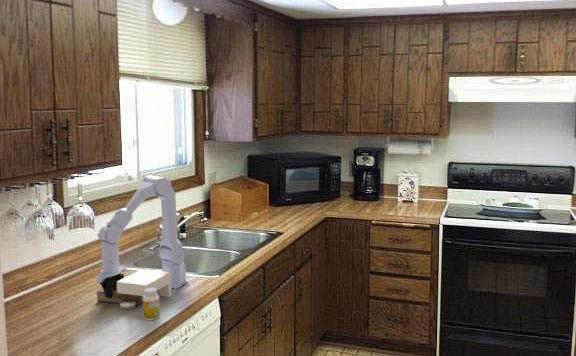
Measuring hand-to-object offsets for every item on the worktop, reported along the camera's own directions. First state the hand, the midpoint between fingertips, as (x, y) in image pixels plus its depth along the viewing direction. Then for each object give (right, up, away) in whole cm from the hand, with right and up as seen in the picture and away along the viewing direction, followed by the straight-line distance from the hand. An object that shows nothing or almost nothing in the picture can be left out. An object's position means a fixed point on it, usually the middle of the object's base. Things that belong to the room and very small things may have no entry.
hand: (112, 296), depth 208 cm
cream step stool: (+12, -2, +1) cm, 12 cm away
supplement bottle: (+18, -4, -15) cm, 24 cm away
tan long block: (+3, -2, 0) cm, 3 cm away
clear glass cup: (+7, -3, -6) cm, 9 cm away
